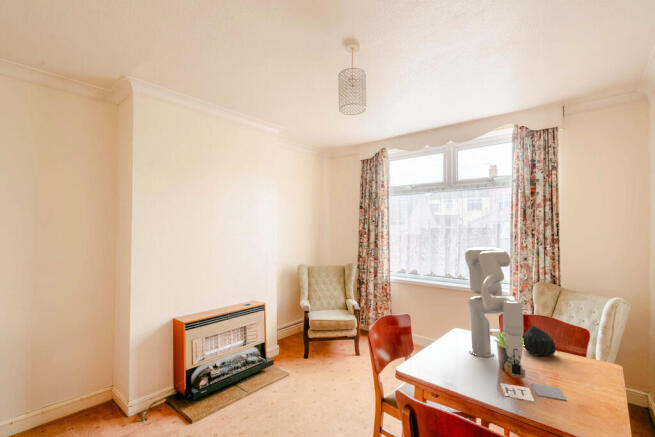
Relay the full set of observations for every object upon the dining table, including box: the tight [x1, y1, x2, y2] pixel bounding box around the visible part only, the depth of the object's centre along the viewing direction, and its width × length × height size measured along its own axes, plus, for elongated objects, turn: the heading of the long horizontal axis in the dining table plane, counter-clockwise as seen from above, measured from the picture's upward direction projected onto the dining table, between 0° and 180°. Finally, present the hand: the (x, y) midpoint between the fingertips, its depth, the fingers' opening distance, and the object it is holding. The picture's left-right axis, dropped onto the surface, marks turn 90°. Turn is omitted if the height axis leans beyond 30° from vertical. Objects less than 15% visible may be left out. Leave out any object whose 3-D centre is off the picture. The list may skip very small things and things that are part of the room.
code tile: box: [500, 382, 535, 402], centre depth 129 cm, size 11×11×1 cm
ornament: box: [503, 356, 526, 379], centre depth 129 cm, size 8×6×10 cm
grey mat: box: [531, 383, 568, 402], centre depth 128 cm, size 10×10×1 cm
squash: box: [522, 325, 556, 357], centre depth 167 cm, size 14×15×15 cm
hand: (514, 368), depth 130 cm, fingers closed on ornament, 8 cm apart
